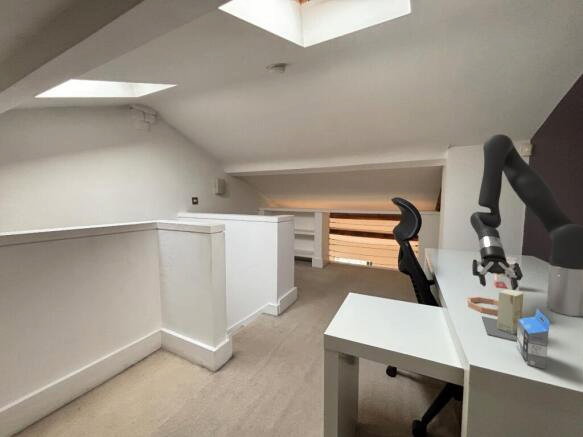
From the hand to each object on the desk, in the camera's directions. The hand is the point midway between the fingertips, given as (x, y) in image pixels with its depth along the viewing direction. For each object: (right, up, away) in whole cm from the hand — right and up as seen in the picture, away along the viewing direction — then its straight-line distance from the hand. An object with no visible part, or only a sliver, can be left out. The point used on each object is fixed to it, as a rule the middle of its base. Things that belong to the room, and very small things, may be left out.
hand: (499, 287), depth 87 cm
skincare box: (-5, -11, -10) cm, 16 cm away
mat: (-6, -11, -10) cm, 16 cm away
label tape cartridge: (-12, -12, -24) cm, 29 cm away
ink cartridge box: (+30, -9, +30) cm, 43 cm away
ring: (+2, -10, +7) cm, 12 cm away
